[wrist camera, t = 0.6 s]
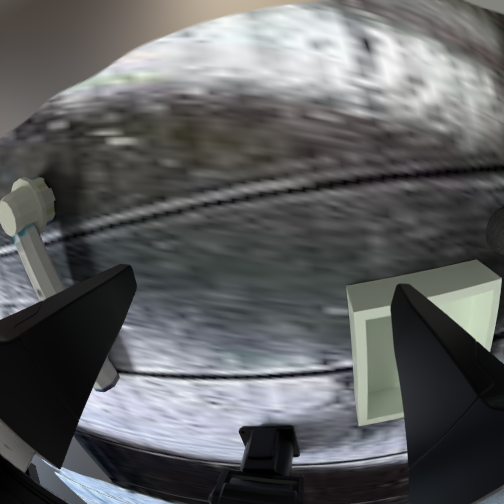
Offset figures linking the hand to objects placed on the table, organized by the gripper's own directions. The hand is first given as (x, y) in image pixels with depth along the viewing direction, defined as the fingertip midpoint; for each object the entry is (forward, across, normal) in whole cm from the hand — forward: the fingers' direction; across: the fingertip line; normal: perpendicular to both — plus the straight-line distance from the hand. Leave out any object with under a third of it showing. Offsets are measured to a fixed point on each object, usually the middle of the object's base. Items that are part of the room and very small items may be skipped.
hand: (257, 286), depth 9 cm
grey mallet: (+12, +23, +11) cm, 29 cm away
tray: (+12, -13, +13) cm, 22 cm away
